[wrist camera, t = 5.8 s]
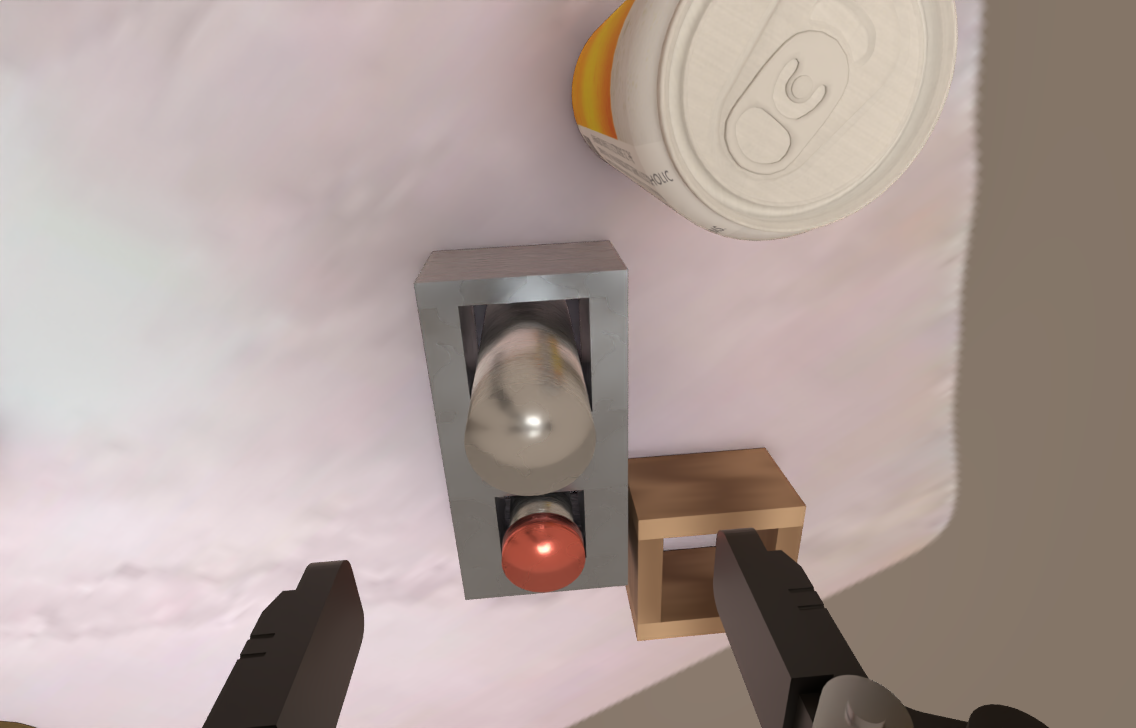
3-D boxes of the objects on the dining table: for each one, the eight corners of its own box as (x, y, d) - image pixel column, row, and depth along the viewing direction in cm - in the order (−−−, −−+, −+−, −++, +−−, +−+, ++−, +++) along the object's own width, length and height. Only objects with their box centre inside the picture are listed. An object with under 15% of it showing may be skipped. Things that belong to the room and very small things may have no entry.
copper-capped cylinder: (508, 508, 31) (505, 596, 25) (502, 451, 29) (497, 531, 24) (575, 502, 31) (586, 588, 25) (572, 446, 29) (584, 524, 24)
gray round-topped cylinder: (489, 359, 28) (472, 500, 18) (480, 280, 26) (456, 389, 16) (570, 353, 28) (597, 490, 18) (567, 275, 27) (594, 378, 17)
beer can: (745, 73, 24) (1051, 34, 10) (654, 198, 25) (807, 309, 12) (630, -30, 22) (810, -248, 8) (541, 113, 24) (568, 128, 10)
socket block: (473, 530, 32) (465, 599, 28) (432, 251, 26) (413, 283, 21) (613, 518, 33) (628, 585, 28) (609, 240, 26) (627, 269, 21)
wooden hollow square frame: (622, 569, 34) (637, 641, 30) (621, 459, 31) (638, 520, 27) (751, 558, 35) (786, 626, 30) (765, 447, 31) (806, 506, 27)
